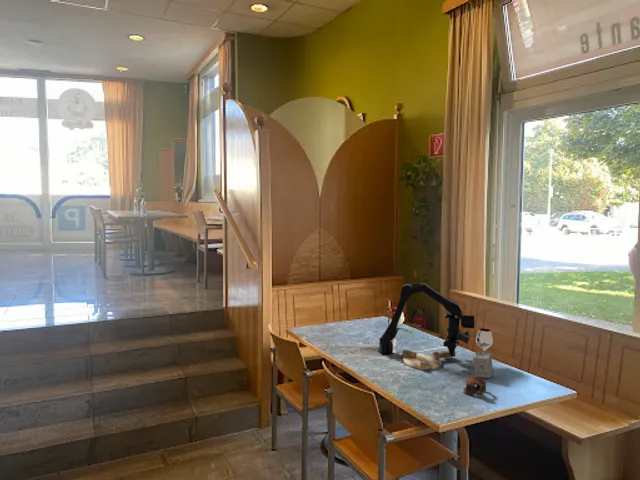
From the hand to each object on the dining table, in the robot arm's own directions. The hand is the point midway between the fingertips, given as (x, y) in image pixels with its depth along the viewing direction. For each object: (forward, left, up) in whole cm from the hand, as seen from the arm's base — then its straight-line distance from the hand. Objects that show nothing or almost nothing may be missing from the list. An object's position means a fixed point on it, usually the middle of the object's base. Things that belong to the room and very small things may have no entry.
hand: (452, 356), depth 247 cm
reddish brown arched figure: (-14, -37, -3) cm, 40 cm away
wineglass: (+13, -8, -3) cm, 16 cm away
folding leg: (-3, +3, -1) cm, 4 cm away
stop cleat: (0, +5, -3) cm, 6 cm away
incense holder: (+3, -20, -3) cm, 21 cm away
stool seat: (-16, +3, -3) cm, 17 cm away
